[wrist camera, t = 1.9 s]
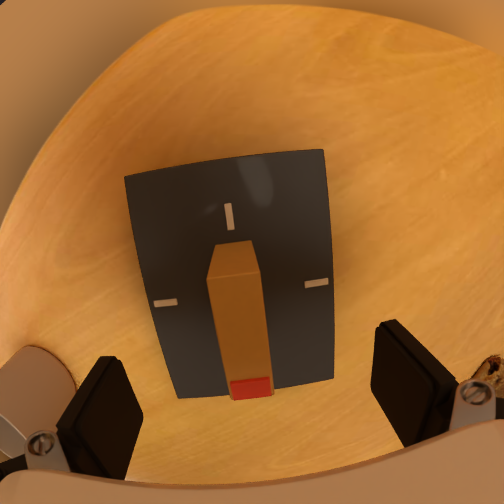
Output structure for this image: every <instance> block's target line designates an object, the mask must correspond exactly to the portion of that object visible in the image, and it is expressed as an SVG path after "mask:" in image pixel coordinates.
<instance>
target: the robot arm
mask: <svg viewBox="0 0 504 504" xmlns="http://www.w3.org/2000/svg"><path fill="white" fill-rule="evenodd" d="M455 379H456V378H455V377H454V376H453V375H452V374H451V373H450V372H449V371H448V370H447V369H446V368H445V367H444V366H443V365H442V364H441V363H440V362H439V361H438V360H437V359H436V358H435V357H434V356H433V355H432V354H431V353H430V352H429V351H428V350H427V349H426V348H425V347H424V346H423V345H422V344H421V343H420V342H419V341H418V340H417V339H416V338H415V337H414V336H413V335H412V334H411V333H410V332H409V331H408V330H407V329H406V328H404V327H403V326H402V325H401V324H400V323H399V322H398V321H397V320H396V319H393V320H389V321H384V322H381V323H380V325H379V327H377V328H376V330H375V342H374V354H373V365H372V375H371V384H370V385H371V390H372V393H373V395H374V396H375V398H376V400H377V401H378V403H379V405H380V406H381V408H382V410H383V411H384V413H385V415H386V416H387V418H388V420H389V422H390V423H391V425H392V427H393V428H394V430H395V432H396V434H397V435H398V437H399V439H400V441H401V442H402V444H403V446H404V448H403V449H400V450H397V451H394V452H391V453H388V454H385V455H382V456H379V457H376V458H372V459H369V460H366V461H362V462H359V463H355V464H351V465H348V466H344V467H340V468H335V469H331V470H327V471H322V472H317V473H312V474H307V475H301V476H296V477H289V478H283V479H276V480H268V481H259V482H248V483H235V484H214V485H177V484H157V483H144V482H134V481H125V480H124V479H125V476H126V473H127V470H128V466H129V463H130V460H131V457H132V453H133V450H134V447H135V444H136V441H137V438H138V434H139V431H140V428H141V425H142V422H143V412H142V410H141V408H140V405H139V403H138V401H137V399H136V396H135V394H134V392H133V389H132V387H131V384H130V382H129V379H128V377H127V374H126V372H125V369H124V367H123V364H122V362H121V361H120V360H118V359H117V358H116V357H115V356H101V357H100V358H99V359H98V360H97V362H96V363H95V365H94V366H93V368H92V369H91V371H90V372H89V374H88V375H87V377H86V378H85V380H84V381H83V383H82V384H81V386H80V387H79V389H78V390H77V392H76V394H75V395H74V397H73V398H72V400H71V401H70V403H69V404H68V406H67V408H66V409H65V411H64V412H63V414H62V416H61V417H60V419H59V421H58V422H57V424H56V425H55V426H56V427H57V429H58V430H57V432H56V433H54V432H53V431H50V430H40V431H37V432H35V433H33V434H32V435H30V436H29V437H28V438H27V440H26V441H25V444H24V452H25V454H22V455H20V456H17V457H15V458H12V459H10V460H8V461H5V462H2V463H0V504H504V398H498V397H496V393H495V389H494V388H493V386H492V385H491V384H490V383H488V382H487V381H484V380H481V379H468V380H465V381H463V382H461V383H460V384H459V383H458V382H457V381H456V380H455Z"/></svg>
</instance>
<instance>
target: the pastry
mask: <svg viewBox="0 0 504 504" xmlns="http://www.w3.org/2000/svg"><path fill="white" fill-rule="evenodd" d="M472 379H481V380H484V381H487V382H488V383H490V384H491V385H492V386H493V388H494V389H495V393H496V397H498V398H504V360H503V359H501V358H499V357H495V356H494V357H490V358H489V359H488V360H486V361H485V362H484V364H483V365H482V366H481V367H480V368H479V369H478V371H477V372H476V374H475V375H474V376H473V377H472Z"/></svg>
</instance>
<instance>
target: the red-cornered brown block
mask: <svg viewBox="0 0 504 504" xmlns="http://www.w3.org/2000/svg"><path fill="white" fill-rule="evenodd" d="M206 281H207V286H208V292H209V297H210V302H211V308H212V313H213V318H214V323H215V328H216V333H217V338H218V343H219V348H220V352H221V357H222V362H223V366H224V371H225V376H226V380H227V384H228V389H229V393H230V398H231V399H232V400H243V399H252V398H259V397H267V396H272V395H274V393H275V392H274V384H273V375H272V367H271V358H270V349H269V341H268V333H267V324H266V316H265V307H264V299H263V291H262V282H261V274H260V270H259V266H258V262H257V259H256V255H255V252H254V248H253V244H252V241H251V240H249V241H241V242H234V243H226V244H219V245H215V248H214V252H213V255H212V259H211V263H210V267H209V271H208V275H207V279H206Z"/></svg>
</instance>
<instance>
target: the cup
mask: <svg viewBox="0 0 504 504" xmlns="http://www.w3.org/2000/svg"><path fill="white" fill-rule="evenodd" d="M75 394H76V389H75V385H74V382H73V379H72V377H71V375H70V374H69V372H68V370H67V369H66V368H65V367H64V365H63V364H62V363H61V362H60V361H59V360H58V359H57V358H56V357H54V356H53V355H52V354H50V353H49V352H47V351H45V350H43V349H41V348H38V347H33V346H29V347H24V348H22V349H20V350H19V351H18V352H17V353H15V354H14V355H13V356H12V357H11V358H10V359H9V360H8V361H7V362H6V363H5V364H4V365H3V367H2V368H1V369H0V450H1V451H2V452H3V453H5V454H6V455H7V456H9V457H11V458H15V457H17V456H20V455H22V454H25V452H24V444H25V441H26V440H27V438H28V437H29V436H30V435H32V434H33V433H35V432H37V431H40V430H50V431H53V432H54V433H56V432H57V430H58V429H57V427H56V426H55V425H56V424H57V422H58V421H59V419H60V417H61V416H62V414H63V412H64V411H65V409H66V408H67V406H68V404H69V403H70V401H71V400H72V398H73V397H74V395H75Z"/></svg>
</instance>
